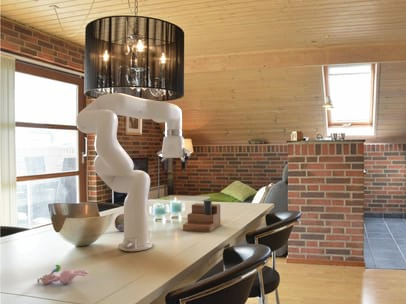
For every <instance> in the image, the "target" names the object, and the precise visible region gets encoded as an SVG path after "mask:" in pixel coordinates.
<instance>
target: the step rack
mask: <svg viewBox="0 0 406 304" xmlns="http://www.w3.org/2000/svg"><path fill="white" fill-rule="evenodd" d="M186 217H187V218H186V221H187V222H185V223H183V224H182V231H185V232H199V233H200V232H202V233H210V232H212V231H213V230H215V229H217V228H218V227H220V226H221V224H222V223H221V204H220V203H212V214H211V215H204V203H202V202H201V203H200V202H199V203H198V202H197V203H193V204H191V212H189V213H187V216H186Z"/></svg>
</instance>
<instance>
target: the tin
mask: <svg viewBox="0 0 406 304" xmlns="http://www.w3.org/2000/svg"><path fill="white" fill-rule="evenodd" d="M114 227H115V229H116V230H118V231H121V232H124V213H121V214H118V215H117V216H116V217H115V218H114Z"/></svg>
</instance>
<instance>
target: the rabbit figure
mask: <svg viewBox="0 0 406 304" xmlns="http://www.w3.org/2000/svg"><path fill="white" fill-rule="evenodd" d="M54 266H55V267H56V268H54V269H52V271H51V272H50V273H49V274H45V275H42V277H39V278H38V277H37V278H36V279H37V285H40V281H41V283H42V284H44V285H48V284H51V283H56V282H59V283H60V284H63V285H65V284H68V283H70V282H72V281H73V280H74V279H75V278H76V276H83V277H85V276H87V275H89V272H88V271H87V270H85V269H78V270H73V269H65V270H63V271H62V272H61V273H59V272H60V271H61V269H62V266H61V265H60V264H55V265H54ZM55 273H59V275H56V274H55Z"/></svg>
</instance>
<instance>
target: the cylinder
mask: <svg viewBox="0 0 406 304" xmlns="http://www.w3.org/2000/svg"><path fill="white" fill-rule="evenodd" d="M212 202H213V200H212V199H204V200H203V204H204V215H211V214H212V204H213V203H212Z"/></svg>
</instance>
